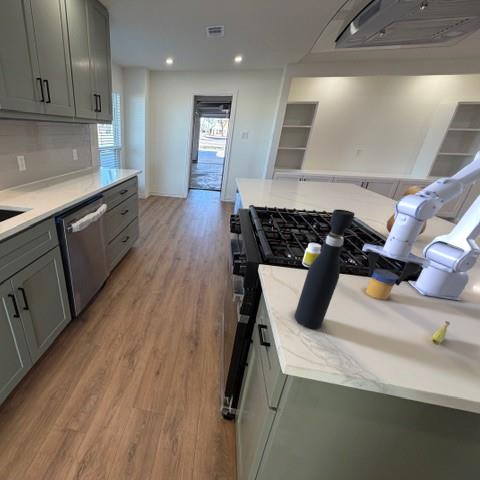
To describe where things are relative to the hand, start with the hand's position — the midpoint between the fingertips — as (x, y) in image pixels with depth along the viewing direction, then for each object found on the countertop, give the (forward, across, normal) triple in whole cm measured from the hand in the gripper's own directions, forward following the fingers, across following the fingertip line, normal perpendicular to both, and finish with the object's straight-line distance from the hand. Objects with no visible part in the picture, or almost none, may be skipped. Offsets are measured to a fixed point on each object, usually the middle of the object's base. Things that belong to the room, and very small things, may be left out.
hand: (383, 279), depth 76 cm
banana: (+6, +14, -13) cm, 20 cm away
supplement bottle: (+6, -21, +4) cm, 22 cm away
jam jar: (+6, 0, 0) cm, 6 cm away
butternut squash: (+6, 0, +70) cm, 70 cm away
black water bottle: (+6, -10, -29) cm, 32 cm away
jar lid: (-2, 0, 0) cm, 2 cm away
